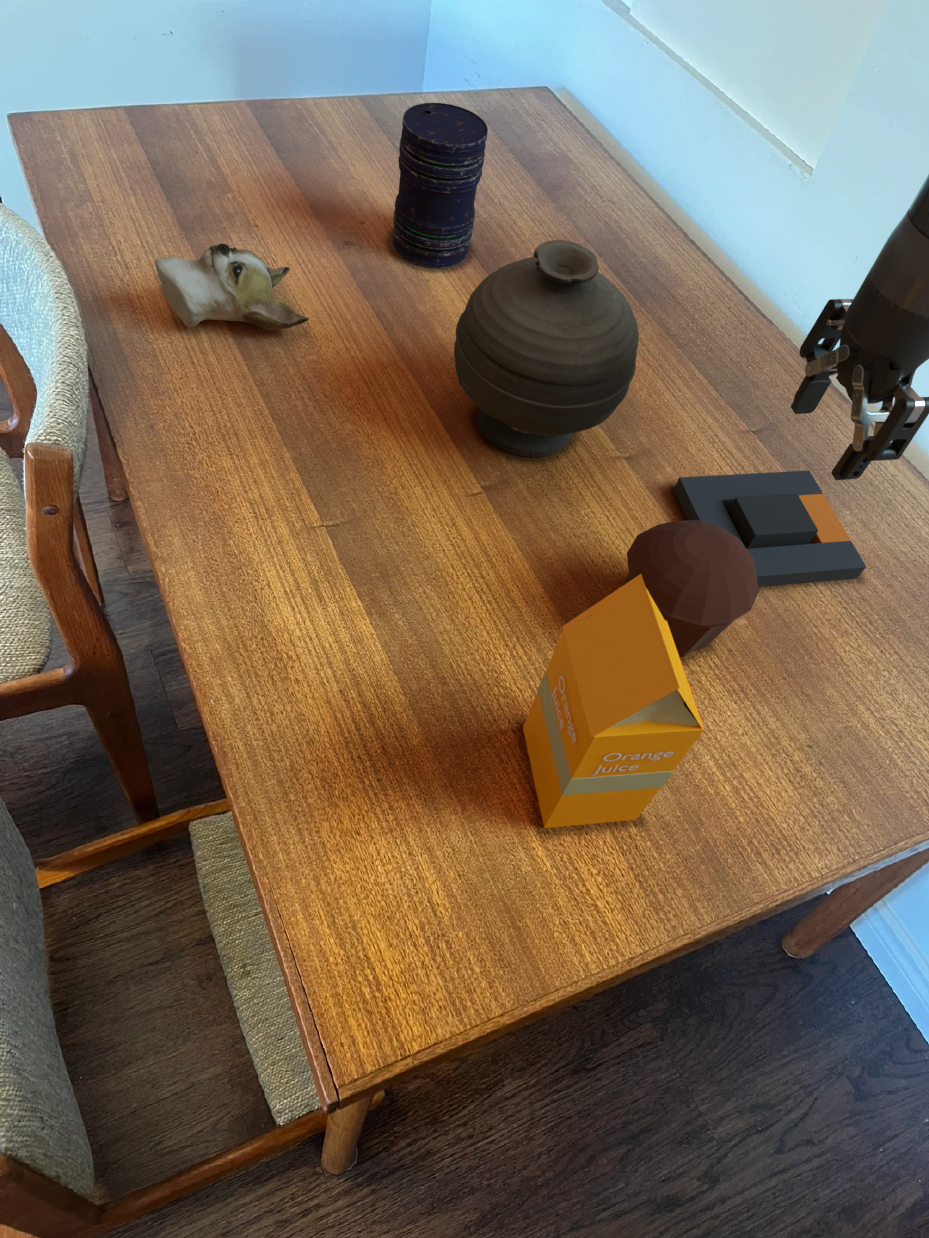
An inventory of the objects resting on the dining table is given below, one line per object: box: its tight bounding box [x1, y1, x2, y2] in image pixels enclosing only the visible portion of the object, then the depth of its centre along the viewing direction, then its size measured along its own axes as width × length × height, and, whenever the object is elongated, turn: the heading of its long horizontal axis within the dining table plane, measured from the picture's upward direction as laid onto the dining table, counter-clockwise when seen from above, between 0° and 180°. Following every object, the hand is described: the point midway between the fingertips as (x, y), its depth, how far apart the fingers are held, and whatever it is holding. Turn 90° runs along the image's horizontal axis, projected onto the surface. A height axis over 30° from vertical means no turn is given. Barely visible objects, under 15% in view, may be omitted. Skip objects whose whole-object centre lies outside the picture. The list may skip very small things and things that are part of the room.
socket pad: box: [673, 470, 867, 588], centre depth 88 cm, size 15×13×2 cm
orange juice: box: [522, 574, 705, 829], centre depth 62 cm, size 8×9×20 cm
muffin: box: [624, 520, 760, 658], centre depth 77 cm, size 12×11×10 cm
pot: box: [453, 239, 640, 458], centre depth 85 cm, size 18×18×20 cm
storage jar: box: [391, 102, 489, 270], centre depth 104 cm, size 10×10×15 cm
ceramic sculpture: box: [154, 243, 310, 331], centre depth 93 cm, size 11×9×15 cm
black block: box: [727, 494, 818, 549], centre depth 88 cm, size 7×5×3 cm
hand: (820, 443), depth 79 cm, fingers open, 8 cm apart
